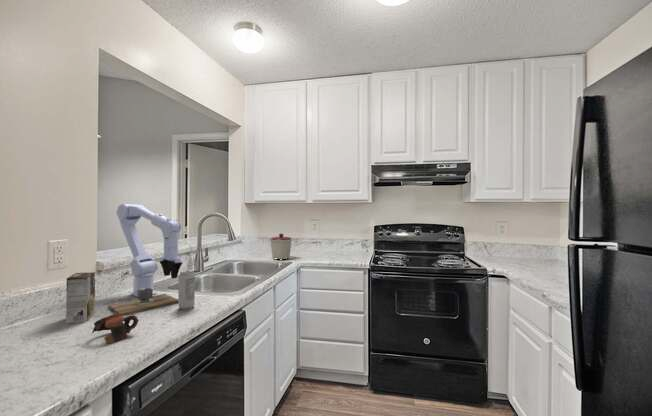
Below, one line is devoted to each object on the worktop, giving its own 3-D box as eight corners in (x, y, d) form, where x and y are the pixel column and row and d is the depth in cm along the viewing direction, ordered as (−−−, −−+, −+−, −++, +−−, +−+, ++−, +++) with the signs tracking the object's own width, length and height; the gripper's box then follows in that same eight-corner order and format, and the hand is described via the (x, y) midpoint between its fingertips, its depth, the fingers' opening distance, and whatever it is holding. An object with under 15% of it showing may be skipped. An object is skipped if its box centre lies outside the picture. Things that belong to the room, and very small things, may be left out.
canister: (266, 260, 238) (266, 234, 238) (274, 257, 256) (275, 232, 256) (287, 261, 234) (287, 234, 234) (295, 258, 252) (295, 232, 252)
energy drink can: (187, 304, 128) (188, 269, 128) (197, 306, 125) (198, 270, 125) (175, 308, 123) (175, 271, 123) (185, 311, 120) (185, 273, 120)
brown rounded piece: (94, 349, 88) (87, 322, 90) (100, 351, 95) (94, 326, 98) (141, 330, 94) (133, 305, 97) (143, 333, 102) (136, 310, 104)
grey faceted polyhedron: (154, 296, 129) (154, 287, 129) (144, 300, 123) (145, 290, 123) (144, 296, 130) (145, 286, 130) (134, 299, 124) (134, 290, 124)
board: (108, 307, 123) (108, 302, 123) (164, 296, 140) (165, 291, 140) (120, 316, 113) (120, 310, 113) (179, 302, 130) (179, 297, 130)
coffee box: (74, 315, 114) (75, 272, 114) (95, 313, 117) (95, 271, 117) (65, 324, 106) (65, 278, 106) (87, 321, 108) (88, 276, 108)
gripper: (155, 246, 140) (154, 275, 140) (168, 249, 131) (168, 280, 131) (170, 245, 145) (170, 273, 145) (184, 247, 136) (184, 277, 136)
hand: (170, 276), depth 138 cm, fingers open, 7 cm apart
